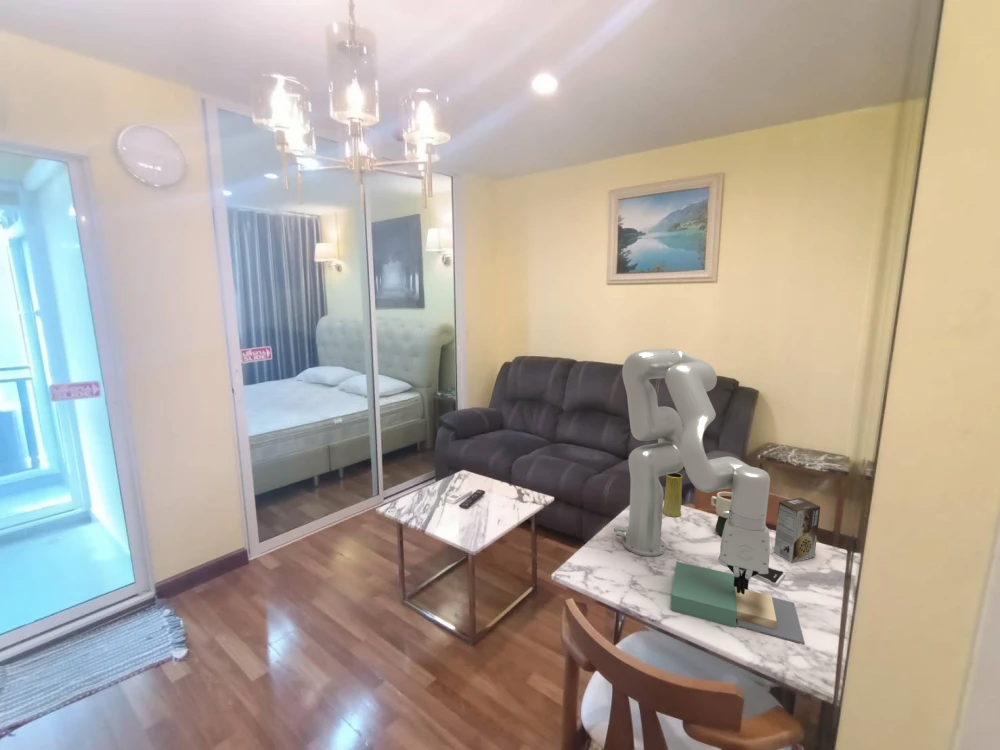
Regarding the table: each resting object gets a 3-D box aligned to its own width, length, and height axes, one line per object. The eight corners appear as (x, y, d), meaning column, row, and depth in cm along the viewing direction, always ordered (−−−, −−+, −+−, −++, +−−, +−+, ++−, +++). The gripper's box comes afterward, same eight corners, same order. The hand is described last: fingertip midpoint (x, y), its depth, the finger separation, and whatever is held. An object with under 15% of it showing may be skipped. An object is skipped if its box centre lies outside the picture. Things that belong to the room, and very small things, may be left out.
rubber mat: (737, 626, 105) (737, 625, 105) (735, 590, 118) (735, 588, 118) (804, 644, 100) (804, 642, 100) (793, 604, 113) (794, 602, 113)
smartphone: (728, 551, 136) (786, 572, 125) (728, 555, 136) (785, 577, 125) (718, 560, 131) (776, 584, 120) (717, 565, 131) (776, 588, 120)
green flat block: (670, 609, 111) (671, 594, 110) (675, 574, 125) (676, 561, 124) (735, 627, 105) (736, 611, 104) (732, 588, 119) (734, 574, 119)
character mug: (748, 536, 146) (752, 498, 144) (738, 544, 141) (742, 504, 139) (713, 524, 154) (716, 487, 152) (703, 531, 149) (707, 493, 147)
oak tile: (736, 618, 107) (736, 611, 107) (734, 594, 116) (735, 587, 116) (775, 629, 104) (776, 621, 103) (770, 603, 113) (771, 595, 112)
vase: (659, 509, 164) (662, 471, 162) (676, 509, 165) (678, 471, 163) (667, 517, 158) (670, 478, 156) (684, 517, 159) (687, 477, 157)
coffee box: (795, 546, 140) (801, 497, 137) (815, 557, 134) (821, 506, 131) (772, 551, 137) (778, 500, 134) (792, 563, 131) (798, 510, 128)
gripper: (712, 519, 108) (706, 590, 111) (786, 533, 101) (777, 608, 104) (712, 507, 114) (706, 574, 117) (781, 519, 108) (774, 590, 111)
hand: (740, 590), depth 111 cm, fingers closed
